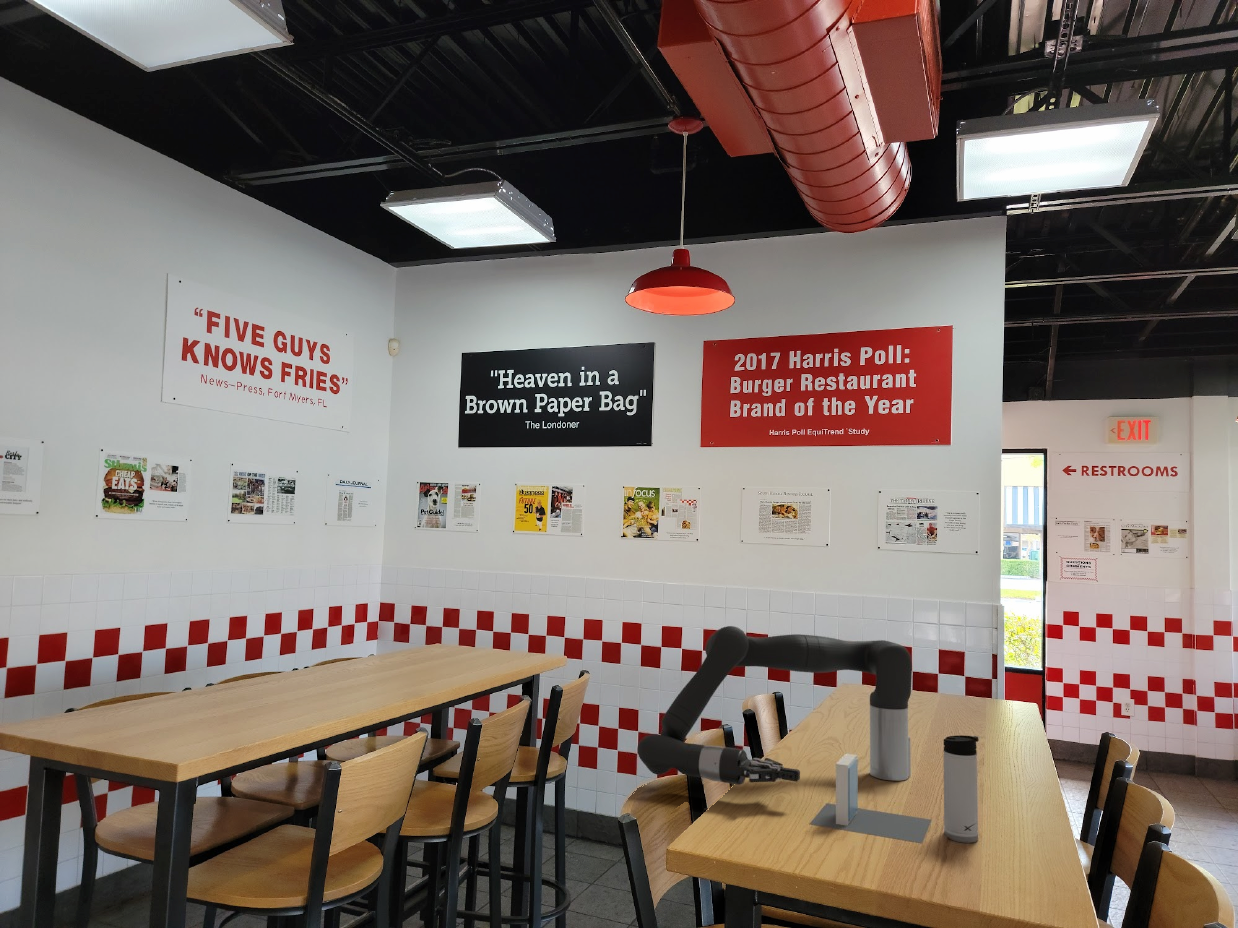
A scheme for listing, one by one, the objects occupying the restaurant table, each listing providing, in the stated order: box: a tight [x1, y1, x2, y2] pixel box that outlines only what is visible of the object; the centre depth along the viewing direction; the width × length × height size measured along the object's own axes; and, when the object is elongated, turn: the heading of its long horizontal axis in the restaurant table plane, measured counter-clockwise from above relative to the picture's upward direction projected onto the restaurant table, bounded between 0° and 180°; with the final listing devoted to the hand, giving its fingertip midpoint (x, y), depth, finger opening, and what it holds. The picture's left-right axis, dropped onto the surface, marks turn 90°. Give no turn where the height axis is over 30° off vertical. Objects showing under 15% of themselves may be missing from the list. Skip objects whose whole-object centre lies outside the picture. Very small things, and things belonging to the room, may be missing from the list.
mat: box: [808, 802, 932, 844], centre depth 176 cm, size 22×16×1 cm
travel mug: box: [942, 734, 980, 844], centre depth 170 cm, size 6×7×20 cm
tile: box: [835, 753, 859, 826], centre depth 179 cm, size 3×10×12 cm, turn 154°
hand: (799, 775), depth 184 cm, fingers closed
